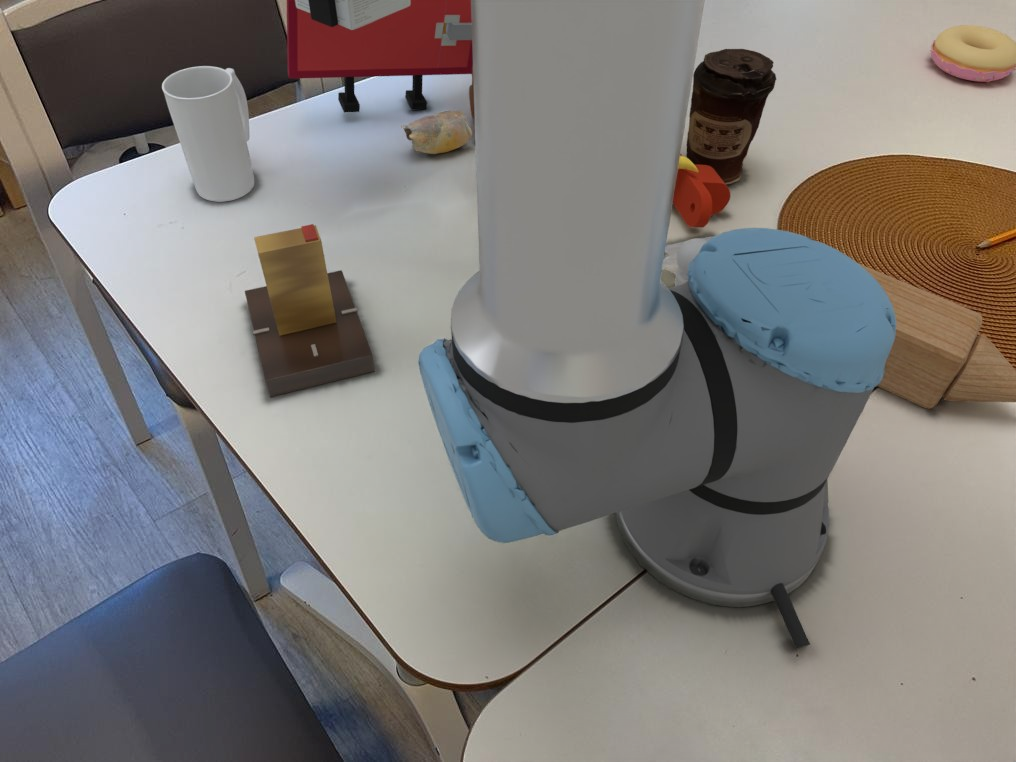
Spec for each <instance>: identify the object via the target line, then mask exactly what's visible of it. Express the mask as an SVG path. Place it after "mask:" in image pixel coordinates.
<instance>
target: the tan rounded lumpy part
mask: <svg viewBox="0 0 1016 762" xmlns="http://www.w3.org/2000/svg"><path fill="white" fill-rule="evenodd" d="M400 127H401V128H402V129H403V130H404V132H405V136H406V139H407V140H409V141H411V143H410V144H411V146H412V149H413V150H415V151H416V152H420V153H423V154H430V155H437V154H443V153H448V152H451V151H454V150H456V149H460V148H461V147H463V146H464V145H466V144H468V143H469V142H470V141H471V139H472V136H473V133H474V132H473V130H472V129H471V127H470V126H469V124H468V122H467V118H466V115H465V113H464V112H463V110H460V109H457V110H446V111H442V112H438V113H435V114H432V115H427V116H424V117H421V118H418V119H415V120H414V121H412V122H409V123H408V124H407V125H400Z"/></svg>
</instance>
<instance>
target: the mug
mask: <svg viewBox="0 0 1016 762" xmlns="http://www.w3.org/2000/svg"><path fill="white" fill-rule="evenodd" d="M161 89H162V92H163V95H164V99H165V102H166V105H167V108H168V112H169V114H170V117H171V120H172V123H173V126H174V130H175V132H176V135H177V139H178V141H179V144H180V146H181V151H182V153H183V157H184V160H185V162H186V165H187V168H188V171H189V174H190V177H191V180H192V183H193V184H194V187H195V190H196V193H197V195H199V196H200V197H201V198H202V199H204V200H207V201H209V202H217V203H219V202H220V203H221V202H230V201H234V200H238V199H240V198H242V197H244V196H246V195H247V194H248V193H250V192H251V191H252V190H253V188H254V186H255V175H254V170H253V166H252V161H251V160H252V159H251V155H250V151H249V146H248V142H249V141H250V138H251V137H250V135H251V134H250V115H249V114H250V113H249V107H248V106H249V105H248V99H247V95H246V93H245V89H244V86H243V85H242V83H241V81H240V80H239V78H238V76H237V74H236V72H235V69H234V68H231V67H227V68H225V69H224V68H223V67H218V66H211V65H202V66H201V65H199V66H192V67H187V68H184V69H179V70H177V71H175V72H173V73H171V74H170V75H168V76H167V77H166V78H165V79H164V80H163V82H162V83H161Z"/></svg>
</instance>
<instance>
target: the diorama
mask: <svg viewBox="0 0 1016 762" xmlns="http://www.w3.org/2000/svg"><path fill="white" fill-rule="evenodd" d="M712 237H713V236H711V235H710V236H705V237H699V238H700V239H704V240H706V241H708V240H710V239H711V238H712ZM686 241H687V240H684V241H680V242H675V243H671V244H666V247H665V253H664V254H666V257H664V259H663V266H662V269H665V270H667V271H668V272H670V273H672V274H674V275H675V272H676V270H677V268H678V264H677V253H678V250H679V248H680V247H681V245H682V244H683V243H684V242H686Z"/></svg>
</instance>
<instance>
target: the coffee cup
mask: <svg viewBox="0 0 1016 762" xmlns="http://www.w3.org/2000/svg"><path fill="white" fill-rule="evenodd" d="M773 68H774V61H773V60H772V59H771V58H770V57H768V56H766V55H764V54H763V53H760V52H758V51H755V50H750V49H746V48H724V49H721V50H717V51H711V52H708V53H707V54H705V55H704V57H703V61H701V62H700V63H699V64H698V65H697V66H696V68H694V71H693V77H692V93H691V99H690V108H689V109H690V110H689V120H688V121H689V122H688V130H687V137H686V154H685V155H686V156H685V157H686V158H688V159H689V160H690V161H691V162H692V163H693V164H698V165H708V166H711V167H712V168H713V169H714V170H715V171H716V173H717V174H718V175H719V176H720V178H721V179H722V180H723V182H724V183H725V184H726V185H731V184H733V183H735V182H739V181H741V177H742V176H743V167H744V166H743V165H744V161H745V158H746V157H747V155H748V152H749V149H750V146H751V144H752V142H753V141H754V138H755V136H756V134H757V131H758V129H759V126H760V123H761V119H762V116H763V112H764V110H765V109H764V108H765V106H766V103H767V99H768V97H769V95H770V94H771V93H772V92H773V90H774V88H775V86H776V81H777V75H776V73H775V72H774V71H773V70H772V69H773Z"/></svg>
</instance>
